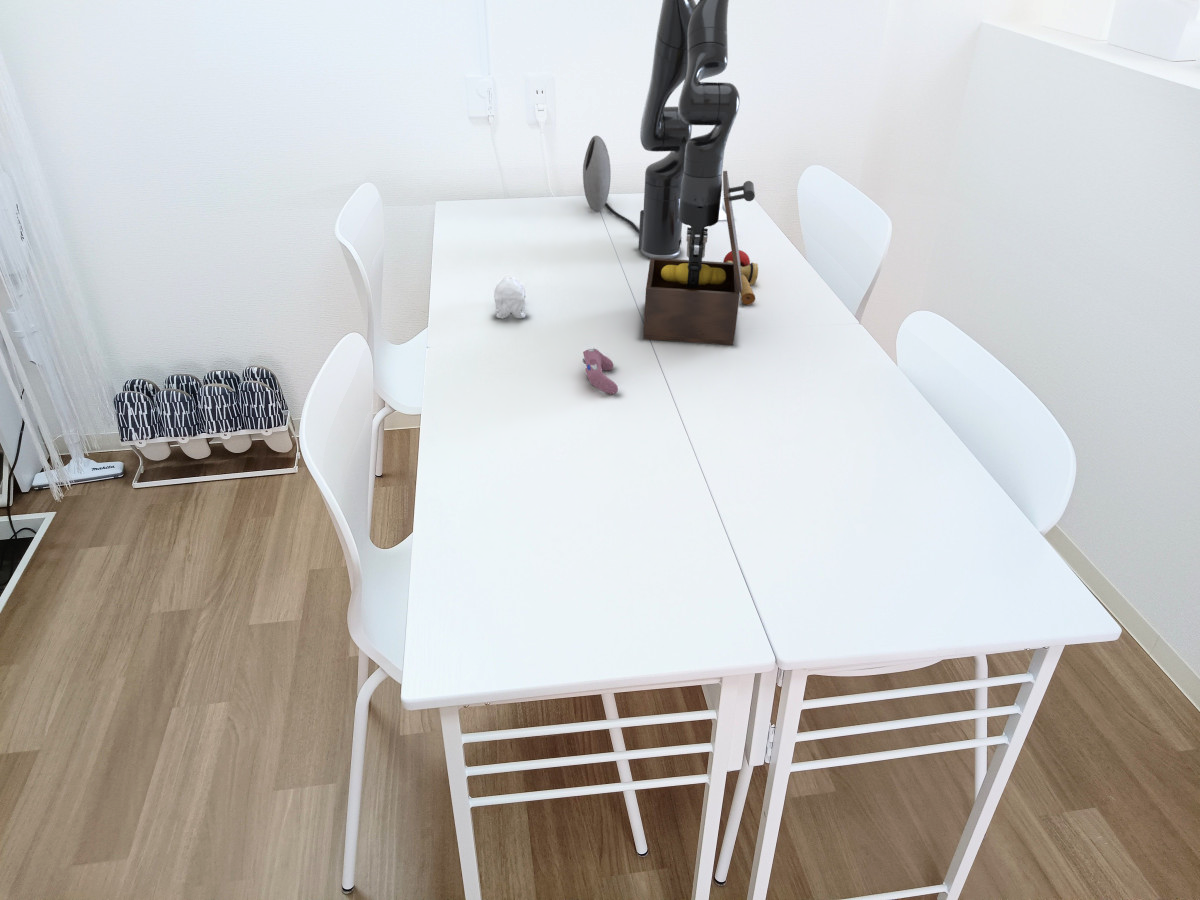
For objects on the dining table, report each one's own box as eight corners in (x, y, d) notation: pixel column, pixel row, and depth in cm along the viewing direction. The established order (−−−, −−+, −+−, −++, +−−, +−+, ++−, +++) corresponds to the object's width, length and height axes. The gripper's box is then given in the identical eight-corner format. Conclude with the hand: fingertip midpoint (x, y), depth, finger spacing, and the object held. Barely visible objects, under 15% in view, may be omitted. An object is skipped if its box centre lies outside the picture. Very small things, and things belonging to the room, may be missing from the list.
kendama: (767, 309, 186) (752, 264, 199) (767, 285, 182) (751, 240, 195) (732, 315, 187) (718, 270, 200) (730, 291, 182) (717, 246, 195)
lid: (723, 197, 154) (754, 191, 152) (722, 171, 166) (751, 165, 164) (737, 292, 164) (766, 288, 163) (736, 261, 176) (763, 256, 175)
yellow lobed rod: (660, 285, 170) (661, 266, 168) (661, 276, 174) (662, 258, 172) (725, 289, 170) (727, 270, 167) (725, 280, 173) (727, 262, 171)
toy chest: (642, 339, 172) (645, 288, 165) (647, 306, 184) (650, 257, 177) (733, 345, 170) (739, 294, 164) (732, 311, 182) (737, 263, 176)
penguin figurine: (492, 283, 171) (496, 263, 181) (494, 323, 175) (497, 302, 185) (524, 283, 171) (526, 264, 181) (525, 323, 175) (527, 302, 186)
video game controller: (593, 375, 163) (576, 346, 159) (615, 365, 162) (599, 336, 158) (597, 403, 155) (580, 373, 151) (620, 393, 154) (603, 363, 150)
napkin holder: (731, 219, 226) (733, 198, 222) (688, 221, 224) (690, 199, 221) (715, 199, 238) (717, 178, 234) (675, 201, 236) (676, 180, 233)
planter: (581, 197, 237) (581, 126, 226) (607, 197, 237) (609, 127, 226) (584, 222, 222) (584, 148, 211) (611, 222, 222) (614, 148, 211)
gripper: (681, 182, 167) (675, 266, 177) (679, 208, 156) (672, 296, 166) (720, 184, 167) (711, 268, 177) (721, 210, 155) (711, 298, 165)
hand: (692, 281), depth 171 cm, fingers closed on yellow lobed rod, 4 cm apart
